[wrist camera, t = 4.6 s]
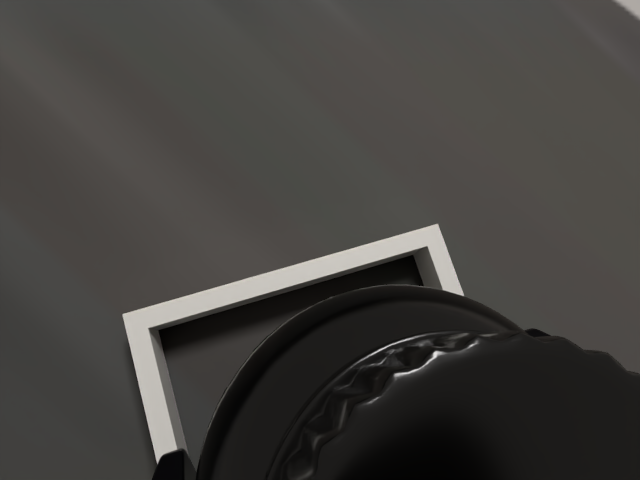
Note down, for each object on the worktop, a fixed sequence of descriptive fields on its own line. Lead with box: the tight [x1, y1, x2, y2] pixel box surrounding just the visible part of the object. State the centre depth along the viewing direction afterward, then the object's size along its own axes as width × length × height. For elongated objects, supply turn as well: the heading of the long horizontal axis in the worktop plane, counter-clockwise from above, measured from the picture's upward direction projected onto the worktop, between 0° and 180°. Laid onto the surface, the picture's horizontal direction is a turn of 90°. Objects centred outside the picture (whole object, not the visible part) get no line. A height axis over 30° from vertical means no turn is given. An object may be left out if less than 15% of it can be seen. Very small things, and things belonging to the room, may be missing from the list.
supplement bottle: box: [196, 285, 640, 480], centre depth 10 cm, size 7×7×12 cm
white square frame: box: [123, 224, 464, 464], centre depth 15 cm, size 10×10×2 cm
